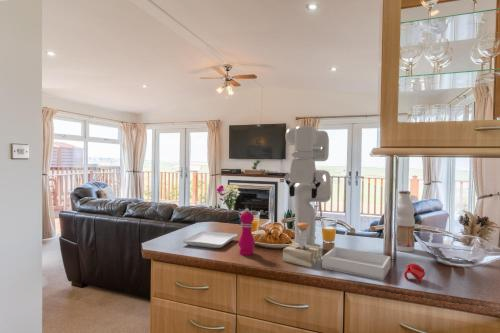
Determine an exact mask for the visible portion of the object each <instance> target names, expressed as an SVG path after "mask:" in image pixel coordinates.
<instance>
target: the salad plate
mask: <svg viewBox="0 0 500 333" xmlns="http://www.w3.org/2000/svg"><path fill="white" fill-rule="evenodd" d="M237 237H238V234H237V233H230V232H229V233H228V232H217V231H216V232H215V231H200V232H197V233H195V234H192V235H190V236H188V237H185V238H184V239H182V240H181V241H182V242H183V243H184V244H186V245H187V246H188V245H189V246H192V247H201V248H209V249H220V248H223V247H224V246H225V245H227V244H228V243H230V242H231V241H233V240H234V239H236V238H237Z"/></svg>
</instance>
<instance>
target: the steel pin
mask: <svg viewBox="0 0 500 333" xmlns="http://www.w3.org/2000/svg"><path fill="white" fill-rule="evenodd" d="M297 227H299V249H300V250H305V251H306V241H307V228H308V227H309V224H308V223H297Z"/></svg>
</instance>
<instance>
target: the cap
mask: <svg viewBox="0 0 500 333" xmlns="http://www.w3.org/2000/svg"><path fill="white" fill-rule="evenodd" d="M408 274H410V275H412V276H413V277H414V278H417V280H418V282H419V284H422V279H423V278H424V277H425V275H426V272H425V269H424V268H422V266H420V265H418V264H416V263H410V264H407V265H406V268H405V271H404V274H403V276H404V278H405V280H406V281H409V277H408Z"/></svg>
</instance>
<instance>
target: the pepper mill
mask: <svg viewBox="0 0 500 333" xmlns="http://www.w3.org/2000/svg"><path fill="white" fill-rule="evenodd" d="M239 218H240V222H241V225H240V226H241V228H242V229H241V230H242V231H241V235H240V237H239V240H238V247H239V253H238V254H239V255H242V256H252V255H253V254H254V251H255V250H254V247H255V245H256V244H255V238H254V236H253V234H252V227H253V224H254V223H253V221H255V220H254V219H255V218H254V214H253V213H252V212H250V209H249V208H245V209H244V211H243V212H242V213H241V214H240V217H239Z"/></svg>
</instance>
